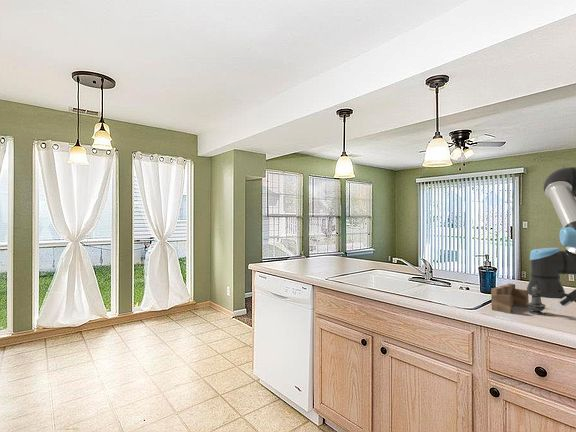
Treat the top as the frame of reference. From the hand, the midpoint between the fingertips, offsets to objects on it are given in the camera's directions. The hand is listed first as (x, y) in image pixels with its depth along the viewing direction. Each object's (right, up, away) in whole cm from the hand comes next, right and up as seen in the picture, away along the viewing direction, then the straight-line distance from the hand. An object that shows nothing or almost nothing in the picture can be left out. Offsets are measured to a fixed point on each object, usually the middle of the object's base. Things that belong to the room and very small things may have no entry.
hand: (555, 308), depth 126 cm
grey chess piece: (-3, -4, +5) cm, 7 cm away
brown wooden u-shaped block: (-8, -4, +13) cm, 16 cm away
